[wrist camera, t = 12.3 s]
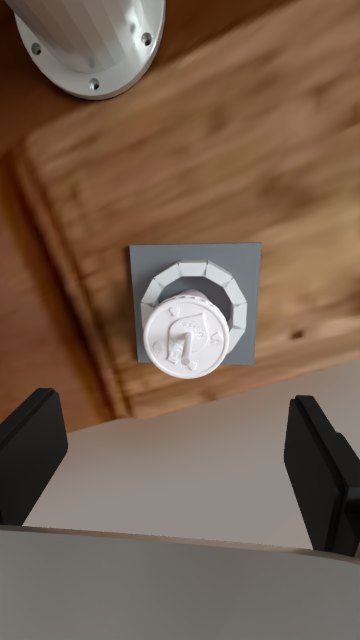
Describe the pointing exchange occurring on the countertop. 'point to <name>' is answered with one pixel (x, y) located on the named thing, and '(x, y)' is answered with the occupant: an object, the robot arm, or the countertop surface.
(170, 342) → the smoothie
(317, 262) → the countertop surface
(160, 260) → the holder
